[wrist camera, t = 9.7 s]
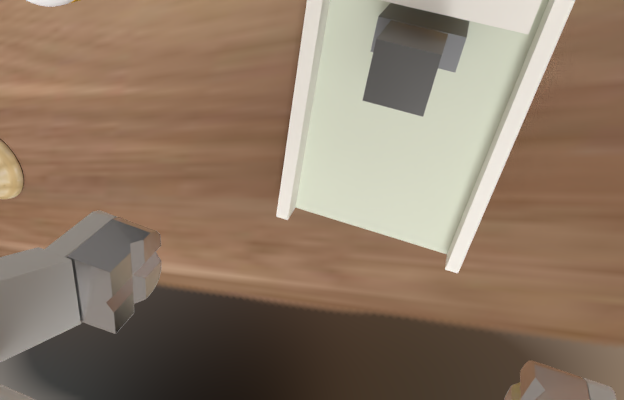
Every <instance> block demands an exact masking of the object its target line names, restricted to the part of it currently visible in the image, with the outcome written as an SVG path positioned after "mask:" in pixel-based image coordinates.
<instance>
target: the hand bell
mask: <svg viewBox="0 0 624 400" xmlns="http://www.w3.org/2000/svg"><path fill="white" fill-rule="evenodd" d="M23 182H24V181H23V173H22V169H21V167H20V165H19V162H18V161H17V159H16V157H15V155H14V154H13V152H12V151H11V150H10V149H9V147H8V146H7V145H6V144H5V143H4V142H3V141H2V140H0V199H11V198H14V197H16V196H17V195H18V194H19V193H20V192H21V190H22V188H23Z"/></svg>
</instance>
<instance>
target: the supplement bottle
mask: <svg viewBox="0 0 624 400" xmlns="http://www.w3.org/2000/svg"><path fill="white" fill-rule="evenodd" d="M26 1H29V2H31V3H33V4H37V5H41V6H49V7H53V6H60V5H64V4H68V3H72V2H76V1H80V0H26Z"/></svg>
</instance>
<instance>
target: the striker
mask: <svg viewBox="0 0 624 400" xmlns="http://www.w3.org/2000/svg"><path fill="white" fill-rule="evenodd" d="M468 27H469V21H468V20H463V19H459V18H455V17H450V16H446V15H442V14H437V13H433V12H429V11H424V10H420V9H416V8H412V7H407V6H403V5H399V4H394V3H390V4H389V5H388V6H387V7H386V9H385V10H384V11H383V12H382V13H381V14H380V15H379V16H378V20H377V24H376V29H375V33H374V38H373V42H372V47H371V51H370V52H373V56H372V60H371V65H370V69H369V74H368V78H367V82H366V87H365V91H364V96H363V100H362V101H366V102H370V103H373V104H377V105H381V106H385V107H388V108H392V109H396V110H400V111H403V112H407V113H411V114H415V115H418V116H422V117H423V115H424V112H425V109H426V106H427V102H428V99H429V96H430V93H431V89H432V86H433V83H434V79H435V76H436V73H437V70H438V68H439V69H443V70H447V71H451V72H456V69H457V66H458V63H459V60H460V56H461V53H462V50H463V47H464V44H465V41H466V38H467V33H468Z"/></svg>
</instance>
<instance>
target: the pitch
mask: <svg viewBox="0 0 624 400" xmlns="http://www.w3.org/2000/svg"><path fill="white" fill-rule="evenodd" d="M574 2H575V0H307V4H306V11H305V18H304V25H303V32H302V39H301V46H300V53H299V60H298V67H297V74H296V81H295V88H294V95H293V102H292V109H291V116H290V123H289V130H288V137H287V144H286V152H285V159H284V166H283V173H282V180H281V187H280V194H279V201H278V208H277V215H276V217H280V218H283V219H286V220H288V219H289V217H290V216H291V214H292V212H293V211H294V209H295V207H296V208H299V209H302V210H305V211H309V212H312V213H315V214H318V215H322V216H325V217H328V218H331V219H334V220H338V221H341V222H344V223H347V224H351V225H354V226H357V227H360V228H364V229H367V230H370V231H373V232H377V233H380V234H383V235H386V236H389V237H393V238H396V239H399V240H402V241H406V242H409V243H412V244H415V245H419V246H422V247H425V248H428V249H432V250H435V251H438V252H441V253H444V254H447V258H446V266H445V270H448V271H451V272H455V273H458V272H459V270H460V267H461V265H462V263H463V261H464V258H465V256H466V254H467V251H468V249H469V247H470V244H471V242H472V240H473V237H474V235H475V233H476V230H477V228H478V226H479V223H480V221H481V219H482V216H483V214H484V212H485V209H486V207H487V205H488V202H489V200H490V198H491V195H492V193H493V191H494V188H495V186H496V184H497V181H498V179H499V177H500V174H501V172H502V170H503V167H504V165H505V163H506V160H507V158H508V156H509V153H510V151H511V149H512V146H513V144H514V142H515V139H516V137H517V135H518V132H519V130H520V128H521V126H522V123H523V121H524V119H525V116H526V114H527V112H528V109H529V107H530V105H531V102H532V100H533V98H534V95H535V93H536V91H537V88H538V86H539V84H540V81H541V79H542V77H543V74H544V72H545V70H546V67H547V65H548V63H549V60H550V58H551V56H552V53H553V51H554V49H555V46H556V44H557V42H558V39H559V37H560V35H561V32H562V30H563V28H564V25H565V23H566V21H567V18H568V16H569V14H570V11H571V9H572V7H573V4H574ZM390 3H394V4H399V5H403V6H407V7H412V8H416V9H420V10H424V11H429V12H433V13H437V14H442V15H446V16H450V17H455V18H459V19H463V20H468V21H469V27H468V33H467V38H466V41H465V44H464V47H463V50H462V53H461V56H460V60H459V63H458V66H457V69H456V72H451V71H447V70H443V69H439V68H438V70H437V73H436V76H435V79H434V83H433V86H432V89H431V93H430V96H429V99H428V102H427V106H426V109H425V112H424V115H423V117H422V116H418V115H415V114H411V113H407V112H403V111H400V110H396V109H392V108H388V107H385V106H381V105H377V104H373V103H370V102H366V101H362V100H363V96H364V91H365V87H366V82H367V78H368V74H369V69H370V65H371V60H372V56H373V52H370V51H371V47H372V42H373V38H374V33H375V29H376V24H377V20H378V16H379V15H380V14H381V13H382V12H383V11H384V10H385V9H386V7H387V6H388V5H389V4H390Z"/></svg>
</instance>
